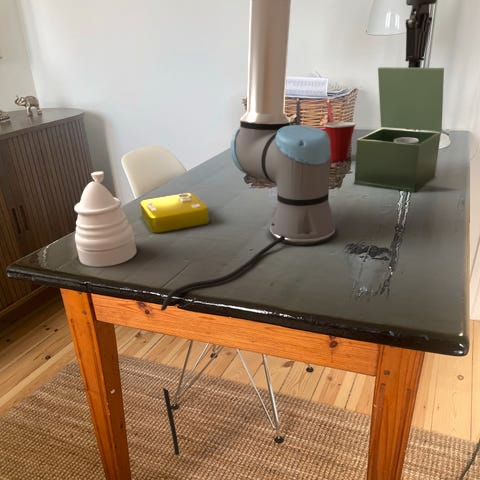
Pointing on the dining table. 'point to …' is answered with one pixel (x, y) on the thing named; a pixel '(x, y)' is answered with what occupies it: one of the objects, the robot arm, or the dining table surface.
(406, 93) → the lid
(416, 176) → the green open box
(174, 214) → the yellow box
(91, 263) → the honey pot
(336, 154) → the plastic cup
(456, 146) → the dining table surface
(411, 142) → the tumbler
